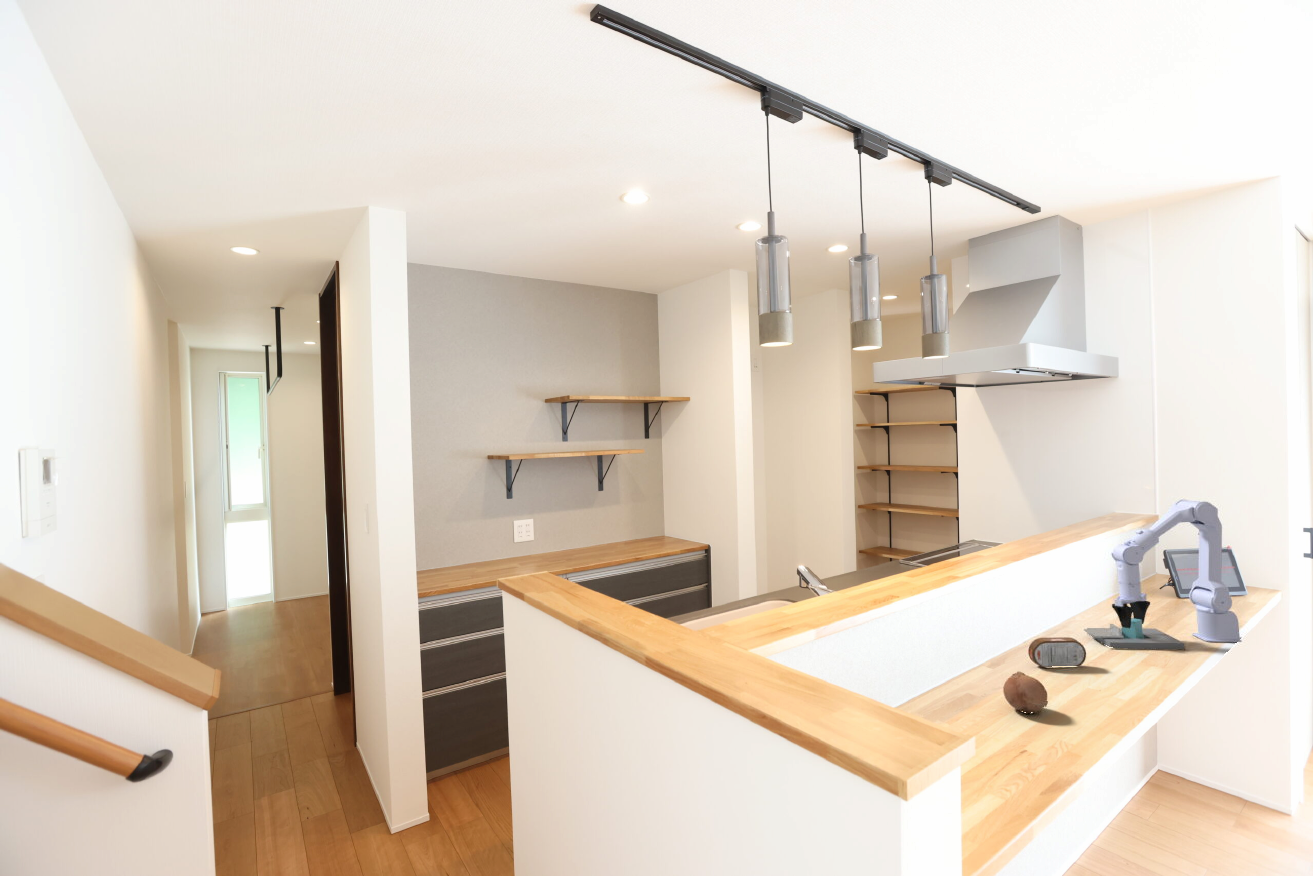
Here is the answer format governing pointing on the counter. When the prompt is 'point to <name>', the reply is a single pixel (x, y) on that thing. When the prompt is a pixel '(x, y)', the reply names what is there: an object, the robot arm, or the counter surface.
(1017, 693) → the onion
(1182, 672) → the counter surface
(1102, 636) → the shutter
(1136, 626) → the plug
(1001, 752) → the counter surface
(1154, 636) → the socket plate
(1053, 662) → the tin
